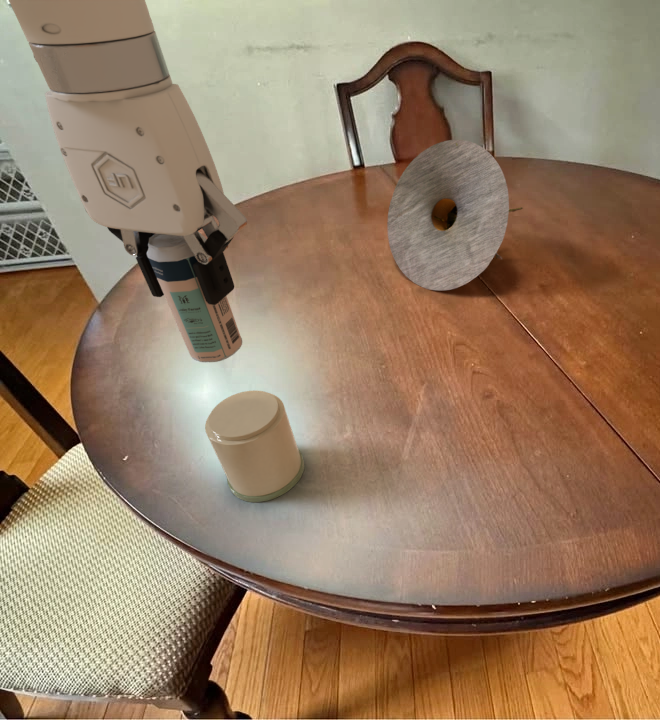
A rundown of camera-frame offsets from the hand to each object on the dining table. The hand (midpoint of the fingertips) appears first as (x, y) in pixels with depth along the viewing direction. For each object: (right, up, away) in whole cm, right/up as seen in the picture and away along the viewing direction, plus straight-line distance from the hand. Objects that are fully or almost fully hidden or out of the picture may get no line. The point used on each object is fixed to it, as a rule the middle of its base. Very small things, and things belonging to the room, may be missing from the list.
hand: (194, 291), depth 50 cm
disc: (+22, +11, +52) cm, 57 cm away
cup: (+1, -19, +15) cm, 24 cm away
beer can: (0, -5, +4) cm, 7 cm away
